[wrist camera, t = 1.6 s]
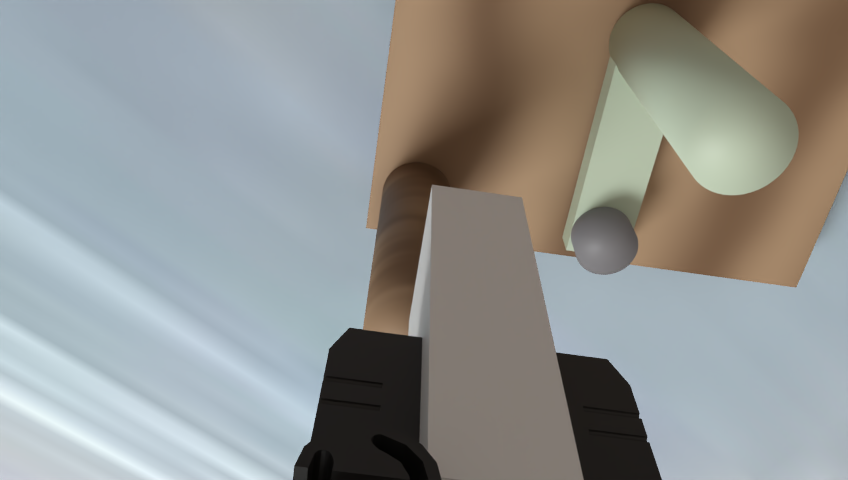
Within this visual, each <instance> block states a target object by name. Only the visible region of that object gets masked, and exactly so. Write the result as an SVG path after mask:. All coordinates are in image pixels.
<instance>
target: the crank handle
mask: <svg viewBox="0 0 848 480" xmlns="http://www.w3.org/2000/svg"><path fill="white" fill-rule="evenodd" d="M609 53H610V58H609V62H608V66H607V69H606V73H605V77H604V81H603V85H602V88H601V92H600V96H599V100H598V104H597V107H596V111H595V115H594V119H593V123H592V126H591V130H590V134H589V138H588V142H587V145H586V149H585V153H584V157H583V161H582V164H581V168H580V172H579V176H578V180H577V183H576V187H575V191H574V195H573V199H572V202H571V206H570V210H569V214H568V218H567V221H566V225H565V229H564V233H563V237H562V238H563V241H564V244H565V248H566V250H569V251H575V255H576V258H577V260H578V262H579V263H580V265H581V266H582V267H583V268H585V269H586V270H588V271H590V272H592V273H595V274H601V275H606V274H612V273H616V272H619V271H621V270H623V269H624V268H626V267H627V266H628V265H629V264H630V263H631V262H632V261H633V259H634V258H635V256H636V254H637V251H638V238H637V235H636V233H635V231H634V227H635V224H636V221H637V217H638V214H639V211H640V208H641V205H642V201H643V198H644V195H645V192H646V188H647V185H648V182H649V179H650V176H651V172H652V169H653V166H654V163H655V159H656V156H657V153H658V150H659V146H660V143H661V140H662V137H663V135H664V136H665V138H666V139H667V140H668V142H669V143H670V145H671V146H672V148H673V149H674V150H675V152H676V153H677V155H678V156H679V157H680V159H681V160H682V162H683V163H684V165H685V166H686V167H687V169H688V170H689V172H690V173H691V174H692V176H693V177H694V179H695V180H696V181H697V182H698V183H699V184H700V185H702V186H703V187H704V188H706V189H708V190H710V191H712V192H715V193H718V194H723V195H742V194H747V193H750V192H754V191H756V190H759V189H761V188H763V187H765V186H766V185H768V184H770V183H771V182H772V181H774V180H775V179H776V178H777V177H779V176H780V175H781V173H782V172H783V171H784V170H785V169H786V168H787V166H788V165H789V163H790V162H791V160H792V158H793V156H794V154H795V151H796V148H797V144H798V136H799V132H798V125H797V121H796V118H795V116H794V114H793V112H792V111H791V109H790V108H789V107H788V106H787V105H786V104H785V103H784V102H783V101H782V100H780V99H779V98H778V97H777V96H776V95H774V94H773V93H772V92H771V91H770V90H768V89H767V88H766V87H765V86H764V85H762V84H761V83H760V82H759V81H758V80H756V79H755V78H754V77H753V76H752V75H750V74H749V73H748V72H747V71H746V70H745V69H743V68H742V67H741V66H740V65H739V64H737V63H736V62H735V61H734V60H733V59H731V58H730V57H729V56H728V55H727V54H725V53H724V52H723V51H722V50H721V49H719V48H718V47H717V46H716V45H715V44H713V43H712V42H711V41H710V40H709V39H707V38H706V37H705V36H704V35H703V34H701V33H700V32H699V31H698V30H697V29H695V28H694V27H693V26H692V25H691V24H689V23H688V22H687V21H686V20H685V19H683V18H682V17H681V16H680V15H679V14H677V13H676V12H675V11H674V10H672V9H671V8H669V7H667V6H665V5H662V4H656V3H648V4H642V5H639V6H636V7H634V8H632V9H631V10H629V11H627V12H626V13H625V14H624V15H623V16H622V17H621V18H620V19H619V20H618V21H617V23H616V24H615V26H614V28H613V30H612V32H611V35H610V39H609Z"/></svg>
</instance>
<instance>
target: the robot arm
mask: <svg viewBox="0 0 848 480" xmlns="http://www.w3.org/2000/svg"><path fill="white" fill-rule="evenodd" d="M293 480H662V479H661V476H660V473H659V470H658V467H657V464H656V461H655V458H654V455H653V452H652V449H651V446H650V443H649V442H647V434H646V431H645V428H644V425H643V422H642V419H639V410H638V407H637V404H636V402H635V399H634V396H633V393H632V390H631V387H630V385H629V384H628V382H627V381H626V380H625V379H624V378H623V377H622V376H621V374H620V373H619V372H618V371H617V370H616V369H615V368H614V366H613V365H612V364H611V363H610V362H609V361H608V360H607V359H601V358H593V357H586V356H578V355H571V354H563V353H556V351H555V346H554V342H553V337H552V333H551V328H550V323H549V319H548V314H547V310H546V305H545V301H544V296H543V291H542V287H541V282H540V278H539V273H538V268H537V264H536V259H535V255H534V250H533V246H532V241H531V236H530V232H529V227H528V223H527V218H526V214H525V209H524V204H523V200H522V197H515V196H508V195H501V194H494V193H487V192H480V191H473V190H466V189H459V188H452V187H445V186H438V185H432V188H431V193H430V199H429V205H428V211H427V217H426V223H425V229H424V235H423V241H422V247H421V253H420V259H419V265H418V270H417V276H416V282H415V288H414V294H413V300H412V306H411V312H410V318H409V330H408V335H400V334H392V333H385V332H377V331H370V330H362V329H355V328H349V329H348V330H347V331H346V332H345V333H344V334H343V335H342V336H341V337H340V338H339V339H338V340H337V341H336V342H335V343H334V344H333V346H332V347H331V348H330V349H329V353H328V358H327V363H326V368H325V373H324V379H323V383H322V388H321V393H320V398H319V403H318V408H317V413H316V418H315V423H314V427H313V432H312V437H311V442H309V443H308V444H307V445H306V446H304V448H303V450H302V452H301V454H300V456H299V458H298V460H297V462H296V464H295V466H294V476H293Z"/></svg>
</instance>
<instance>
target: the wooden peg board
mask: <svg viewBox="0 0 848 480" xmlns="http://www.w3.org/2000/svg"><path fill="white" fill-rule="evenodd" d="M648 3H656V4H662V5H665V6H667V7H669V8H671V9H672V10H674V11H675V12H676V13H677V14H679V15H680V16H681V17H682V18H683V19H685V20H686V21H687V22H688V23H689V24H691V25H692V26H693V27H694V28H695V29H697V30H698V31H699V32H700V33H701V34H703V35H704V36H705V37H706V38H707V39H709V40H710V41H711V42H712V43H713V44H715V45H716V46H717V47H718V48H719V49H721V50H722V51H723V52H724V53H725V54H727V55H728V56H729V57H730V58H731V59H733V60H734V61H735V62H736V63H737V64H739V65H740V66H741V67H742V68H743V69H745V70H746V71H747V72H748V73H749V74H750V75H752V76H753V77H754V78H755V79H756V80H758V81H759V82H760V83H761V84H762V85H764V86H765V87H766V88H767V89H768V90H770V91H771V92H772V93H773V94H774V95H776V96H777V97H778V98H779V99H780V100H782V101H783V102H784V103H785V104H786V105H787V106H788V107H789V108H790V109H791V111H792V112H793V114H794V116H795V118H796V121H797V125H798V132H799V136H798V144H797V148H796V151H795V154H794V156H793V158H792V160H791V162H790V163H789V165H788V166H787V168H786V169H785V170H784V171H783V172H782V173H781V175H780V176H779V177H777V178H776V179H775V180H774V181H772V182H771V183H770V184H768V185H766V186H765V187H763V188H761V189H759V190H756V191H754V192H750V193H747V194H742V195H723V194H718V193H715V192H712V191H710V190H708V189H706V188H704V187H703V186H702V185H700V184H699V183H698V182H697V181H696V180H695V179H694V177H693V176H692V174H691V173H690V172H689V170H688V169H687V167H686V166H685V165H684V163H683V162H682V160H681V159H680V157H679V156H678V155H677V153H676V152H675V150H674V149H673V148H672V146H671V145H670V143H669V142H668V140H667V139H666V138H665V136H664V135H663V137H662V140H661V143H660V146H659V150H658V153H657V156H656V159H655V163H654V166H653V169H652V172H651V176H650V179H649V182H648V185H647V188H646V192H645V195H644V198H643V201H642V205H641V208H640V211H639V214H638V217H637V221H636V224H635V227H634V231H635V233H636V235H637V238H638V251H637V254H636V256H635V258H634V259H633V261H632V262H631V263H630V264H631V265H638V266H645V267H652V268H660V269H667V270H674V271H681V272H688V273H696V274H703V275H710V276H717V277H725V278H732V279H739V280H746V281H753V282H761V283H768V284H775V285H782V286H790V287H797V284H798V282H799V280H800V278H801V275H802V273H803V271H804V268H805V266H806V264H807V262H808V259H809V257H810V255H811V252H812V250H813V248H814V245H815V243H816V241H817V239H818V236H819V234H820V232H821V229H822V227H823V225H824V223H825V220H826V218H827V216H828V213H829V211H830V209H831V207H832V204H833V202H834V200H835V197H836V195H837V193H838V191H839V188H840V186H841V184H842V181H843V179H844V177H845V174H846V172H847V170H848V0H396V2H395V10H394V18H393V25H392V33H391V41H390V48H389V56H388V64H387V72H386V79H385V87H384V95H383V102H382V110H381V118H380V126H379V133H378V141H377V149H376V156H375V164H374V172H373V180H372V187H371V195H370V203H369V210H368V218H367V226H366V228H370V229H377V234H376V241H375V248H374V255H373V262H372V270H371V277H370V284H369V291H368V298H367V305H366V312H365V319H364V326H363V330H370V331H377V332H385V333H392V334H400V335H408V330H409V318H410V312H411V306H412V300H413V294H414V288H415V282H416V276H417V270H418V265H419V259H420V253H421V247H422V241H423V235H424V229H425V223H426V217H427V211H428V205H429V199H430V193H431V188H432V185H438V186H445V187H452V188H459V189H466V190H473V191H480V192H487V193H494V194H501V195H508V196H515V197H522V200H523V204H524V209H525V214H526V218H527V223H528V227H529V232H530V236H531V241H532V246H533V250H534V251H537V252H544V253H551V254H558V255H566V256H573V257H576V255H575V251H569V250H566V248H565V244H564V241H563V238H562V237H563V233H564V229H565V225H566V221H567V218H568V214H569V210H570V206H571V202H572V199H573V195H574V191H575V187H576V183H577V180H578V176H579V172H580V168H581V164H582V161H583V157H584V153H585V149H586V145H587V142H588V138H589V134H590V130H591V126H592V123H593V119H594V115H595V111H596V107H597V104H598V100H599V96H600V92H601V88H602V85H603V81H604V77H605V73H606V69H607V66H608V62H609V58H610V53H609V39H610V35H611V32H612V30H613V28H614V26H615V24H616V23H617V21H618V20H619V19H620V18H621V17H622V16H623V15H624V14H625V13H626V12H627V11H629V10H631V9H632V8H634V7H636V6H639V5H642V4H648Z"/></svg>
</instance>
